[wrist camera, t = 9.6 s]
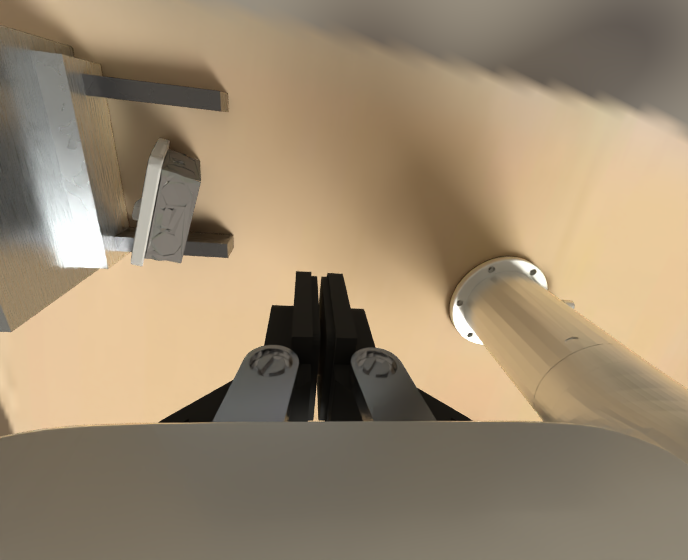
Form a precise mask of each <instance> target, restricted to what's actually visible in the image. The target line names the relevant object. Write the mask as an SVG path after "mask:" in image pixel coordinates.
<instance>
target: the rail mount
mask: <svg viewBox="0 0 688 560" xmlns="http://www.w3.org/2000/svg"><path fill="white" fill-rule="evenodd" d="M107 98H113V99H122V100H130V101H139V102H147V103H155V104H164V105H172V106H181V107H189V108H198V109H206V110H215V111H224V112H229V110H228V94H227V93H224V92H221V91H215V90H207V89H199V88H191V87H183V86H175V85H167V84H159V83H151V82H143V81H136V80H128V79H120V78H112V77H104V76H103V75H102V70H101V64H97V63H93V62H89V61H86V60H82V59H78V58H74V54H73V49H72V47H70V46H67V45H64V44H61V43H57V42H54V41H51V40H48V39H44V38H41V37H38V36H35V35H31V34H28V33H25V32H21V31H18V30H15V29H12V28H8V27H5V26H2V25H0V332H12V331H13V330H15V329H16V328H18V327H19V326H20V325H22V324H23V323H25V322H26V321H27V320H29V319H30V318H31V317H33V316H34V315H36V314H37V313H38V312H40V311H41V310H43V309H44V308H45V307H47V306H48V305H50V304H51V303H52V302H54V301H55V300H56V299H58V298H59V297H61V296H62V295H63V294H65V293H66V292H68V291H69V290H70V289H72V288H73V287H75V286H76V285H77V284H79V283H80V282H81V281H83V280H84V279H86V278H87V277H88V276H90V275H91V274H93V273H94V272H95V271H97V270H98V269H100V268H104V269H109V268H110V267H111V266H113V265H114V264H115V263H117V262H118V261H119V260H121V259H122V258H123V257H125V256H126V255H127V254H129V253H130V252H132V249H133V243H134V237H135V232H136V228H129V222H128V217H127V211H126V205H125V200H124V194H123V188H122V183H121V177H120V171H119V166H118V160H117V154H116V149H115V143H114V137H113V132H112V126H111V120H110V115H109V109H108V104H107ZM233 248H234V241H233V235H230V234H216V233H201V232H189V233H188V237H187V241H186V245H185V249H184V253H183V255H189V256H205V257H222V258H228V257H229V255H230V253H231V252H232V250H233Z"/></svg>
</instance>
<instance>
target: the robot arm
mask: <svg viewBox="0 0 688 560" xmlns="http://www.w3.org/2000/svg"><path fill="white" fill-rule="evenodd" d="M574 307H575V305H574V303H573V301H570V300H560V299H559V298H557V297H556V296H555V295H553V294H552V293H550V292H549V291H548V286H547V280H546V278H545V276H544V274H543V273H542V271H541V270H540V269H539V268H538V267H537V266H535V265H534V264H532V263H531V262H529V261H527V260H525V259H522V258H518V257H509V256H507V257H499V258H495V259H492V260H489V261H486V262H484V263H482V264H480V265H479V266H477V267H476V268H474V269H473V270H471V271H470V272H469V273H468V274H467V275H466V276H465V277H464V278H463V279H462V280H461V281H460V283H459V284H458V285H457V287H456V289H455V291H454V293H453V295H452V298H451V301H450V318H451V320H452V323H453V325H454V327H455V328H456V330H457V331H458V332H459V333H460V335H461V336H463V337H464V338H465V339H467V340H469V341H471V342H474V343H478V344H483V345H484V346H485V347H486V349H487V350H488V351H489V352H490V354H491V355H492V356H493V357H494V359H495V360H496V361H497V363H498V364H499V365H500V366H501V368H502V369H503V370H504V372H505V373H506V374H507V375H508V377H509V378H510V379H511V381H512V382H513V383H514V384H515V386H516V387H517V388H518V390H519V391H520V392H521V393H522V395H523V396H524V397H525V398H526V400H527V401H528V402H529V404H530V405H531V406H532V407H533V409H534V410H535V411H536V413H537V414H538V415H539V417H540V418H541V419H542V420H543V422H535V421H472V420H471V419H469V418H468V417H466V416H464V415H463V414H461V413H459V412H458V411H456V410H454V409H452V408H451V407H449V406H447V405H446V404H444V403H442V402H440V401H439V400H437V399H435V398H434V397H432V396H430V395H429V394H427V393H425V392H423V391H422V390H420V389H418V388H417V387H416V386H415V384H414V382H413V381H412V379H411V377H410V376H409V374H408V372H407V371H406V369H405V367H404V366H403V364H402V362H401V361H400V360H399V359H398V357H397V356H395V355H394V354H392V353H391V352H389V351H386V350H384V349H380V348H375V344H374V341H373V338H372V334H371V331H370V328H369V324H368V321H367V318H366V314H365V311H364V309H351V308H350V304H349V299H348V295H347V291H346V286H345V282H344V277H343V274H334V273H328V274H327V277H321V287H320V298H319V300H318V284H317V276H311V272H299V271H296V282H295V296H294V306H279V305H272V307H271V312H270V318H269V323H268V328H267V333H266V339H265V344H264V346H261V347H258V348H256V349H254V350H252V351H251V352H249V353H248V354H247V355H246V357H245V358H244V360H243V362H242V364H241V366H240V368H239V370H238V372H237V374H236V376H235V378H234V380H232V381H230V382H229V383H227V384H225V385H223V386H222V387H220V388H218V389H216V390H214V391H213V392H211V393H209V394H207V395H206V396H204V397H202V398H200V399H198V400H197V401H195V402H193V403H191V404H190V405H188V406H186V407H184V408H182V409H181V410H179V411H177V412H175V413H174V414H172V415H170V416H168V417H167V418H165V419H163V420H161V421H160V422H158V423H126V424H101V425H75V426H65V427H55V428H46V429H38V430H33V431H27V432H22V433H16V434H11V435H6V436H1V437H0V560H688V389H687V388H686V387H684V386H683V385H681V384H680V383H678V382H677V381H675V380H674V379H672V378H671V377H669V376H668V375H666V374H665V373H663V372H662V371H660V370H659V369H657V368H656V367H654V366H653V365H651V364H650V363H649V362H647V361H646V360H644V359H643V358H641V357H640V356H639V355H637V354H636V353H634V352H633V351H632V350H630V349H629V348H627V347H626V346H625V345H623V344H622V343H620V342H619V341H618V340H616V339H615V338H613V337H612V336H611V335H609V334H608V333H606V332H605V331H604V330H602V329H601V328H599V327H598V326H597V325H595V324H594V323H592V322H591V321H590V320H588V319H587V318H585V317H584V316H583V315H581V314H580V313H578V312H577V311H576V310H574ZM316 385H317V395H318V419H319V420H325V422H308V421H313V417H314V407H315V396H316Z"/></svg>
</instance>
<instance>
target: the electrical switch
mask: <svg viewBox="0 0 688 560" xmlns="http://www.w3.org/2000/svg"><path fill="white" fill-rule="evenodd" d="M169 144H170V140H166V139H163V138H159V139H158V141H157V142H156V144H155V146H154V148H153V150H152V152H151V155H150V157H149V160H148V164H147V170H146V175H145V181H144V186H143V192H142V198H141V199H139V200H138V201H136V203H135V205H134V209H133V214H132V219H133V220H136V221H137V226H136V232H135V237H134V243H133V249H132V256H131V264H133V265H138V266H143V261H144V258H146V259H154V260H158V261H162V260H167V261H172V262H178V263H181V262H182V257H183V253H184V249H185V245H186V241H187V237H188V233H189V228H190V224H191V220H192V216H193V212H194V208H195V204H196V200H197V195H198V191H199V187H200V183H201V182H199V181H201V174H200V161H199V160H196V159H193V158H190V157H187V156H186V155H185V154H182V153H179V152H176V151H173V150H170V149H169ZM196 180H198V181H196Z"/></svg>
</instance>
